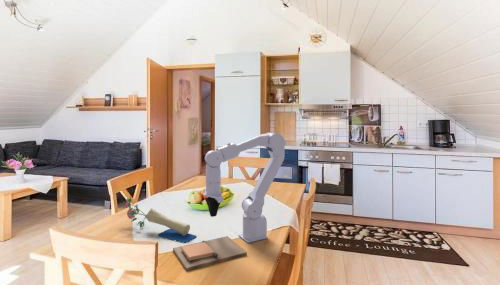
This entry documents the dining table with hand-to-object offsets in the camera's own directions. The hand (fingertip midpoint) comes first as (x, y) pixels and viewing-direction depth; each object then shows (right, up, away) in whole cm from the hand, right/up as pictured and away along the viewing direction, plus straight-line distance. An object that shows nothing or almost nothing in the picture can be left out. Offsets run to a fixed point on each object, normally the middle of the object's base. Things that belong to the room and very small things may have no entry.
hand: (213, 215), depth 112 cm
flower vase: (-27, -9, +13) cm, 32 cm away
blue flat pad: (-16, -10, +6) cm, 20 cm away
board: (0, -11, -9) cm, 14 cm away
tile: (-4, -9, -11) cm, 15 cm away
